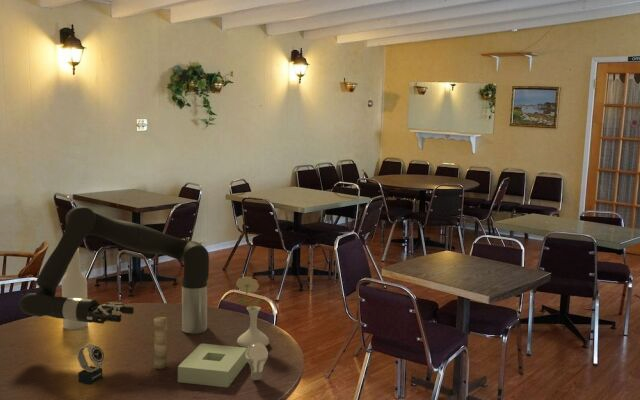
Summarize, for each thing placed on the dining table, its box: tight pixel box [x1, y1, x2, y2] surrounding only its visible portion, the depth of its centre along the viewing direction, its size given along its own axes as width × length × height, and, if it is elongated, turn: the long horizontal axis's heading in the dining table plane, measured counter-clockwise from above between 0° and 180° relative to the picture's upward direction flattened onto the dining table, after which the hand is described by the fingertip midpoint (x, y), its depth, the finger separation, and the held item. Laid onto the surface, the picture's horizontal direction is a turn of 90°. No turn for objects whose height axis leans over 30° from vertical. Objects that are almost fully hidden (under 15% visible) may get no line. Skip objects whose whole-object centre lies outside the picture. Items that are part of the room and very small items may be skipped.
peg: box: [153, 316, 168, 370], centre depth 209 cm, size 4×4×16 cm
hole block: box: [177, 343, 248, 388], centre depth 207 cm, size 20×16×5 cm
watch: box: [77, 343, 105, 386], centre depth 198 cm, size 6×8×11 cm
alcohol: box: [61, 247, 89, 331], centre depth 243 cm, size 9×9×30 cm
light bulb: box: [246, 343, 269, 382], centre depth 201 cm, size 7×7×12 cm
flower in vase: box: [235, 275, 270, 348], centre depth 229 cm, size 13×11×25 cm
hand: (127, 314), depth 210 cm, fingers open, 8 cm apart
